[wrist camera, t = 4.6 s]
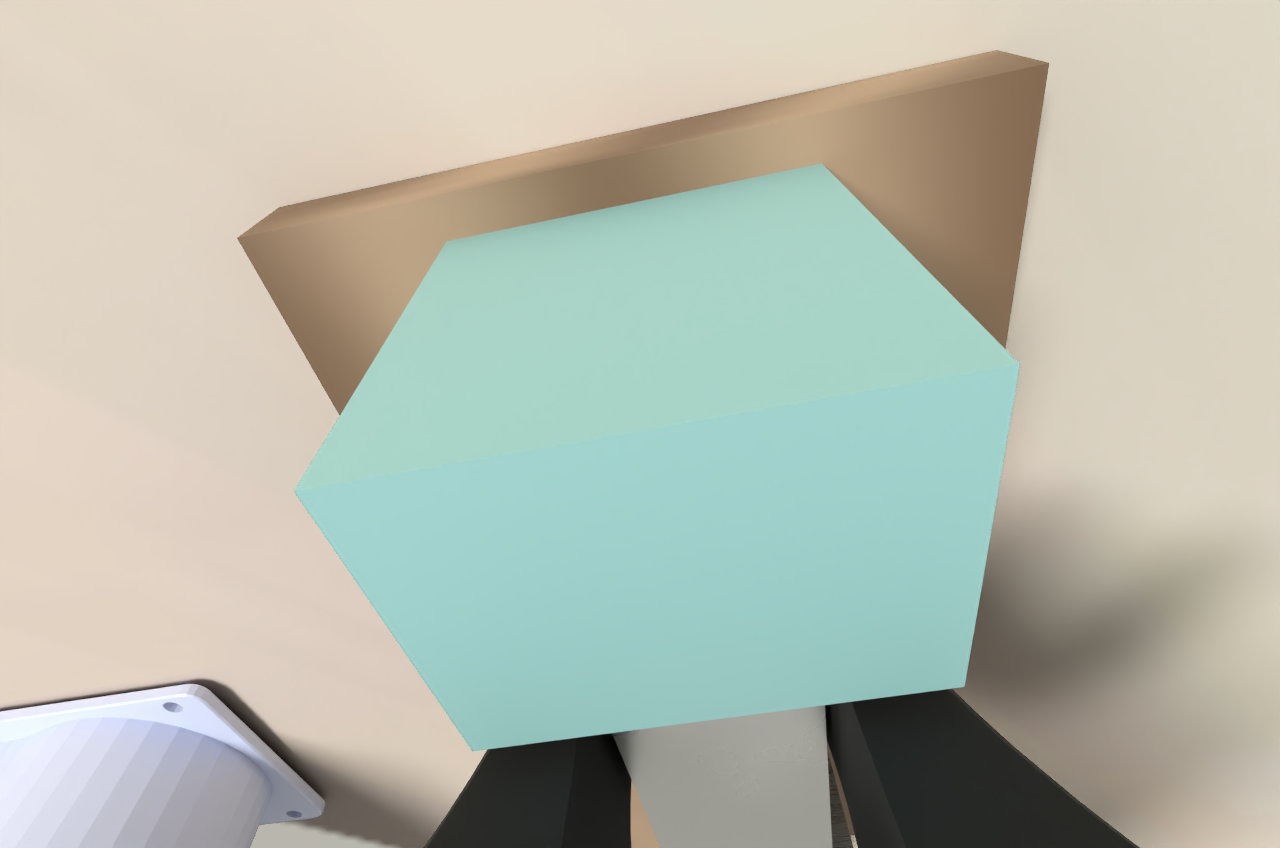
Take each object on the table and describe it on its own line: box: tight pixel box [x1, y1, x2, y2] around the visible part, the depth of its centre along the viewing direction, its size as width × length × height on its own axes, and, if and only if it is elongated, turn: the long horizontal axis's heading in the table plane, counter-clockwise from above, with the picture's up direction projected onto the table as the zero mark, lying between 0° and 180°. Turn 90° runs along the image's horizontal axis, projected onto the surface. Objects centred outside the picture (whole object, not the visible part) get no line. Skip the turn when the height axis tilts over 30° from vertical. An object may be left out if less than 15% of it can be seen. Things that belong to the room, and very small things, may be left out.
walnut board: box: [237, 50, 1049, 848], centre depth 17 cm, size 12×24×2 cm, turn 11°
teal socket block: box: [294, 163, 1020, 751], centre depth 9 cm, size 6×4×6 cm
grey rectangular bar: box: [612, 705, 832, 848], centre depth 11 cm, size 3×13×3 cm, turn 11°
